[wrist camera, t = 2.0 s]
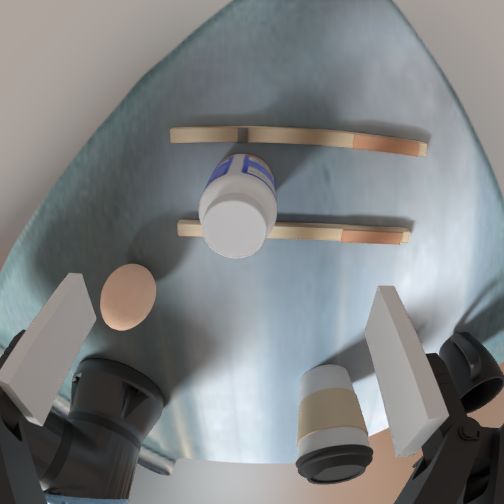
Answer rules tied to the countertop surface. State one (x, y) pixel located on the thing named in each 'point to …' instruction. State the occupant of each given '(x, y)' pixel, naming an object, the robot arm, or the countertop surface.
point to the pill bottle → (238, 206)
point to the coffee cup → (330, 428)
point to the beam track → (312, 138)
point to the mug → (472, 370)
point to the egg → (127, 296)
